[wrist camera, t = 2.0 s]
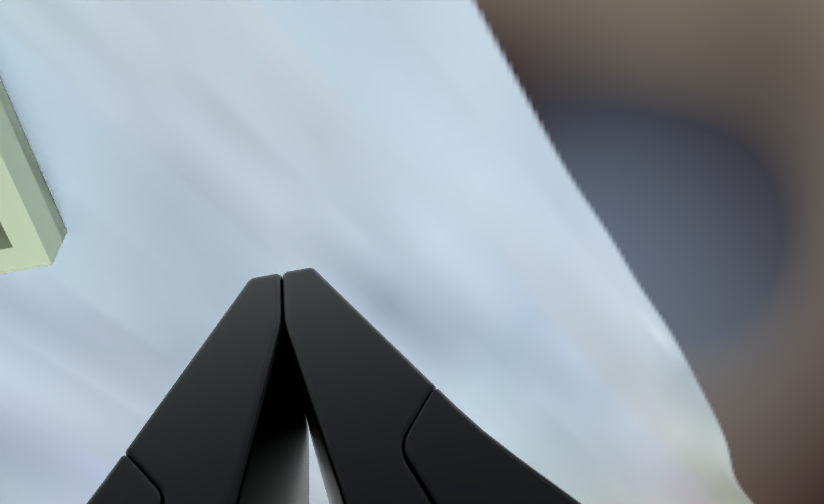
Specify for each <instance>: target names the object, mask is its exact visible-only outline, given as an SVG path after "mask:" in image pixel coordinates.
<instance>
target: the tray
mask: <svg viewBox="0 0 824 504" xmlns="http://www.w3.org/2000/svg"><path fill="white" fill-rule="evenodd" d="M66 233H67V231H66V228H65V226H64V224H63V221H62V219H61V217H60V215H59V212H58V210H57V208H56V205H55V203H54V201H53V198H52V196H51V194H50V192H49V189H48V187H47V185H46V182H45V180H44V178H43V175H42V173H41V171H40V169H39V166H38V164H37V162H36V159H35V157H34V155H33V152H32V150H31V148H30V145H29V143H28V141H27V139H26V136H25V134H24V132H23V129H22V127H21V125H20V122H19V120H18V118H17V116H16V113H15V111H14V109H13V106H12V104H11V102H10V99H9V97H8V95H7V93H6V90H5V88H4V86H3V83H2V81H1V79H0V274H3V273H9V272H14V271H20V270H26V269H32V268H37V267H43V266H49V265H52V264H53V262H54V259H55V257H56V255H57V253H58V251H59V248H60V246H61V244H62V242H63V240H64V238H65V235H66Z"/></svg>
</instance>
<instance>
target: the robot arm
mask: <svg viewBox="0 0 824 504" xmlns="http://www.w3.org/2000/svg"><path fill="white" fill-rule="evenodd" d="M307 422H308V424H307ZM308 426H309V430H310V434H311V438H312V442H313V446H314V450H315V453H316V457H317V460H318V464H319V467H320V471H321V474H322V478H323V481H324V485H325V489H326V492H327V496H328V499H329V503H330V504H581V503H580V502H578V501H577V500H576V499H574V498H573V497H571V496H570V495H569V494H567V493H566V492H565V491H563V490H562V489H561V488H559V487H558V486H556V485H555V484H554V483H552V482H551V481H550V480H548V479H547V478H545V477H544V476H543V475H541V474H540V473H539V472H537V471H536V470H535V469H533V468H532V467H530V466H529V465H528V464H526V463H525V462H524V461H522V460H521V459H519V458H518V457H517V456H515V455H514V454H513V453H512V452H510V451H509V450H508V449H506V448H505V447H504V446H503V445H501V444H500V443H499V442H497V441H496V440H495V439H493V438H492V437H491V436H490V435H488V434H487V433H486V432H484V431H483V430H482V429H481V428H480V427H479V426H478V425H476V424H475V423H474V422H473V421H472V420H471V419H470V418H469V417H468V416H466V415H465V414H464V413H463V412H462V411H461V410H460V409H459V408H457V407H456V406H455V405H454V404H453V403H452V402H451V401H450V400H449V399H448V398H447V397H446V396H445V395H444V394H443V393H442V392H441V391H440V390H439V389H436V388H435V386H434V385H433V384H432V383H431V382H430V381H429V380H428V379H427V378H426V377H425V376H424V375H423V374H422V373H421V372H420V371H419V370H418V369H417V368H416V367H415V366H414V365H413V364H412V363H411V362H410V361H409V360H408V359H406V358H405V357H404V356H403V355H402V354H401V353H400V352H399V351H398V350H397V349H396V348H395V347H394V346H393V345H392V344H391V343H390V342H389V341H388V340H387V339H386V338H385V337H384V336H383V335H382V334H381V333H380V332H379V331H378V330H377V329H375V328H374V327H373V326H372V325H371V324H370V323H369V322H368V321H367V320H366V319H365V318H364V317H363V316H362V315H361V314H360V313H359V312H358V311H357V310H356V309H355V308H354V307H353V306H352V305H351V304H350V303H349V302H348V301H347V300H345V299H344V298H343V297H342V296H341V295H340V294H339V293H338V292H337V291H336V290H335V289H334V288H333V287H332V286H331V285H330V284H329V283H328V282H327V281H326V280H325V279H324V278H323V277H322V276H321V275H320V274H319V273H318V272H317V271H315V270H314V269H312V268H306V269H301V270H295V271H290V272H286V273H285V274H284V275H283V278H282V276H281V275H279V274H274V275H268V276H263V277H257V278H253V279H251V280H250V281H249V282H248V283H247V284H246V286H245V287H244V288H243V290H242V291H241V293H240V294H239V295H238V297H237V298H236V300H235V301H234V302H233V304H232V305H231V306H230V308H229V309H228V311H227V312H226V313H225V315H224V316H223V317H222V319H221V320H220V322H219V323H218V324H217V326H216V327H215V329H214V330H213V331H212V333H211V334H210V335H209V337H208V338H207V340H206V341H205V342H204V344H203V345H202V347H201V348H200V349H199V351H198V352H197V353H196V355H195V356H194V358H193V359H192V360H191V362H190V363H189V365H188V366H187V367H186V369H185V370H184V371H183V373H182V374H181V376H180V377H179V378H178V380H177V381H176V383H175V384H174V385H173V387H172V388H171V389H170V391H169V392H168V394H167V395H166V396H165V398H164V399H163V401H162V402H161V403H160V405H159V406H158V407H157V409H156V410H155V412H154V413H153V414H152V416H151V417H150V418H149V420H148V421H147V423H146V424H145V425H144V427H143V428H142V430H141V431H140V432H139V434H138V435H137V436H136V438H135V439H134V441H133V442H132V443H131V445H130V446H129V448H128V449H127V450H126V456H122V457H121V458H120V460H119V461H118V462H117V464H116V465H115V466H114V468H113V469H112V471H111V472H110V473H109V475H108V476H107V478H106V479H105V480H104V482H103V483H102V484H101V486H100V487H99V488H98V490H97V491H96V492H95V493H94V495H93V496H92V497H91V499H90V500H89V501H88V503H87V504H309V437H308Z"/></svg>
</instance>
